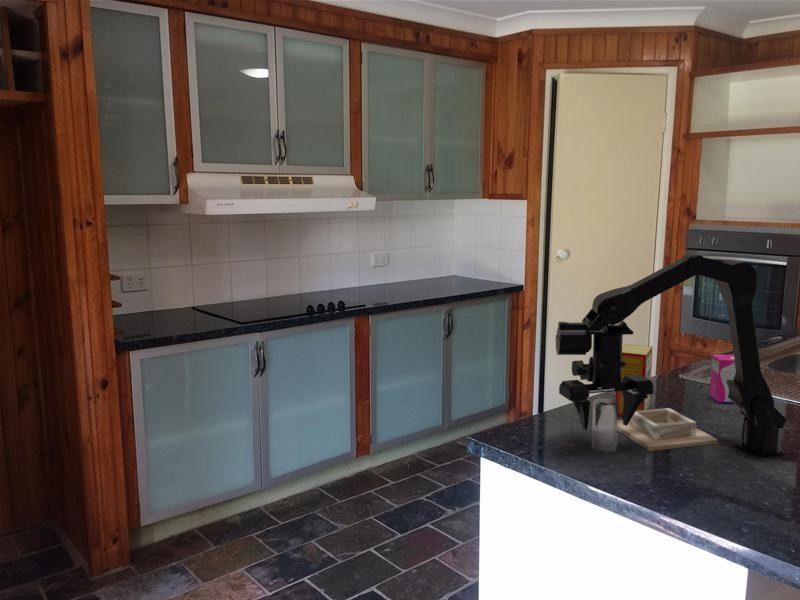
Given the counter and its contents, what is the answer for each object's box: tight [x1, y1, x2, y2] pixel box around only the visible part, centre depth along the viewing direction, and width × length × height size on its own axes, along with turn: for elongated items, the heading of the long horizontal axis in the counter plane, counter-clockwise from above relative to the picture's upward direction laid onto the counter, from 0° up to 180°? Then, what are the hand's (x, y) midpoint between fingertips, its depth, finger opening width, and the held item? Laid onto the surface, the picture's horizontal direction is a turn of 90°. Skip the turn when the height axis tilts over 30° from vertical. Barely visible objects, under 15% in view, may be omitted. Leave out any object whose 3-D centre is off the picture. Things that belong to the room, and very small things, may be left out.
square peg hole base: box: [617, 407, 719, 452], centre depth 146 cm, size 16×16×4 cm
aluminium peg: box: [591, 398, 619, 453], centre depth 139 cm, size 5×5×10 cm
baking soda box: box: [614, 343, 653, 418], centre depth 160 cm, size 10×6×16 cm
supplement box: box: [709, 354, 736, 405], centre depth 168 cm, size 6×6×12 cm
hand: (605, 427), depth 139 cm, fingers open, 9 cm apart
